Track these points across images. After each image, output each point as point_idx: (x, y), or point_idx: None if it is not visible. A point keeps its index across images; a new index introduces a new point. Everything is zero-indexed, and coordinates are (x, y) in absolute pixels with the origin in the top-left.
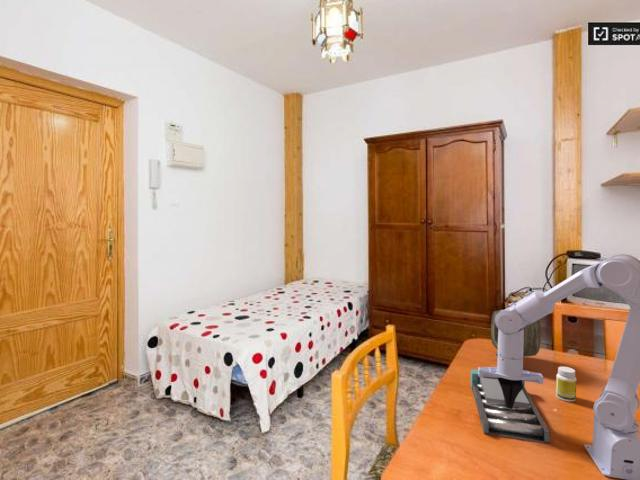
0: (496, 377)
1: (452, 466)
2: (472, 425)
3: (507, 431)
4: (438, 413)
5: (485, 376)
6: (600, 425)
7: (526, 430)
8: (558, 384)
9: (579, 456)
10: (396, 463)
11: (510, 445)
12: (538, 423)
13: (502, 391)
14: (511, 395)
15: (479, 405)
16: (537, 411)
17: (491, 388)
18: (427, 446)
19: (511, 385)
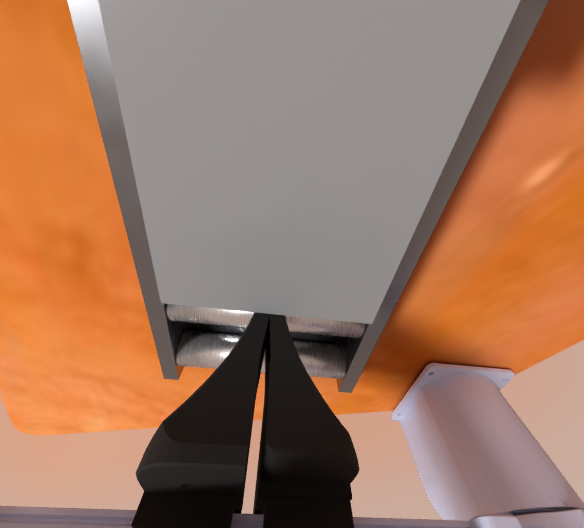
0: (129, 524)
1: (118, 420)
2: (145, 318)
3: None
4: (6, 269)
5: (25, 519)
6: (462, 519)
7: None
8: None
9: (386, 383)
10: (16, 423)
11: None
12: (353, 342)
13: (234, 347)
14: (263, 410)
15: (143, 294)
16: (391, 308)
17: (198, 182)
18: (50, 390)
19: (257, 482)
